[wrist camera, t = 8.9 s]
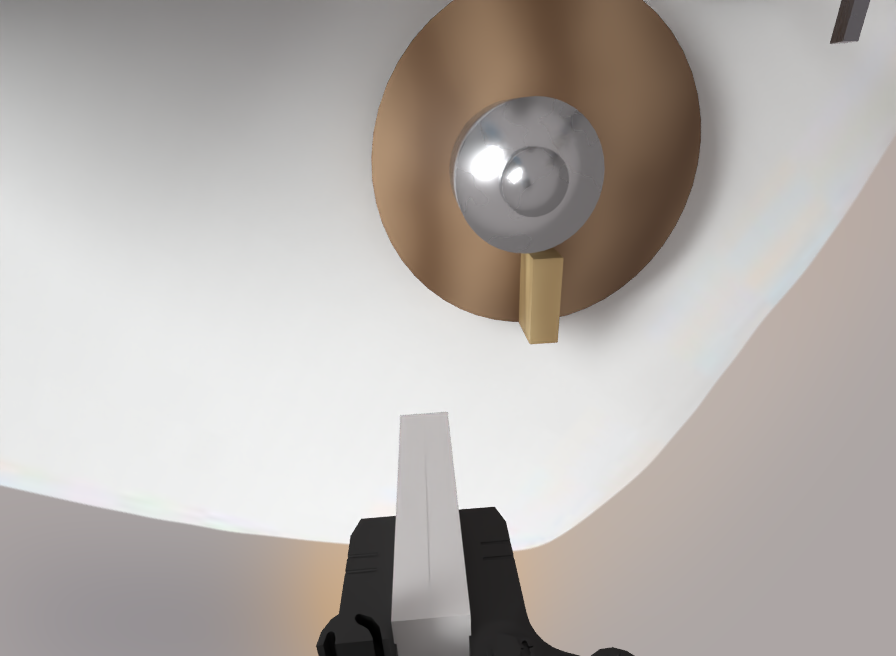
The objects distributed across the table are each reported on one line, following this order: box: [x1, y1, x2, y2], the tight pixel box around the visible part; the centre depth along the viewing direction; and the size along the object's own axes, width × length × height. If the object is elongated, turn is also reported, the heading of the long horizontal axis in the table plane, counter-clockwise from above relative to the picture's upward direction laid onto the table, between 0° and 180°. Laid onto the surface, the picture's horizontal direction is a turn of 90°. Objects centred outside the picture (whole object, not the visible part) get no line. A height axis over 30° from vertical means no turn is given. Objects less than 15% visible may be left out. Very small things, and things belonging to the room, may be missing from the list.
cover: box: [449, 96, 605, 254], centre depth 23 cm, size 7×7×5 cm
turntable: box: [371, 0, 701, 344], centre depth 25 cm, size 18×18×5 cm
